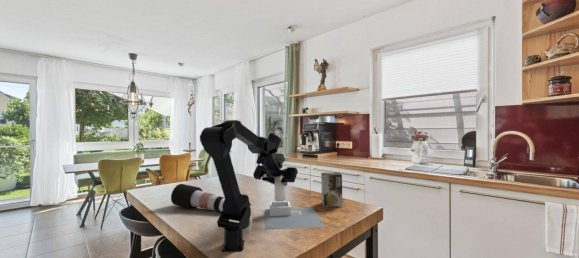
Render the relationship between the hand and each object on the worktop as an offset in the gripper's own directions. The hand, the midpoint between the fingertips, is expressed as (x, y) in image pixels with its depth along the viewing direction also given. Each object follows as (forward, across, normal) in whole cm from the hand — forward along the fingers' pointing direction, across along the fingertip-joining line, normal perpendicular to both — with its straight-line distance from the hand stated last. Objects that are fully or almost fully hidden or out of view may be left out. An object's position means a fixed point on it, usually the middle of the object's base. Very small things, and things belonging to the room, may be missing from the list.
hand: (281, 184), depth 112 cm
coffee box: (+23, -17, -5) cm, 29 cm away
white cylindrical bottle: (+4, 0, +6) cm, 7 cm away
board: (+6, -7, +12) cm, 16 cm away
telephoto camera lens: (+4, +34, +15) cm, 37 cm away
